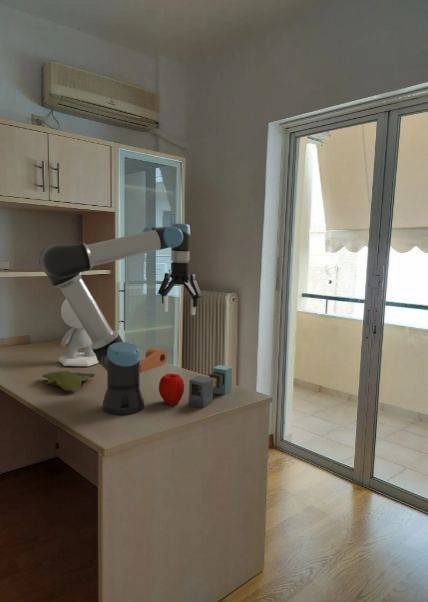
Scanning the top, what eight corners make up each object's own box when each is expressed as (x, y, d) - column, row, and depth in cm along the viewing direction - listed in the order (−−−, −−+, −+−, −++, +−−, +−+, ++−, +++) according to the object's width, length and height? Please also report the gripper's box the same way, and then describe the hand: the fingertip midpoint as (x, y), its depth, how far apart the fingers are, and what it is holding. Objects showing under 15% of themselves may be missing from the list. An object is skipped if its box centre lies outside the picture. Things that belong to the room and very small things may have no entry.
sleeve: (203, 409, 166) (204, 382, 165) (188, 406, 169) (189, 379, 168) (212, 404, 172) (213, 378, 171) (198, 401, 175) (198, 375, 174)
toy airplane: (110, 386, 190) (110, 375, 189) (61, 397, 175) (61, 385, 174) (80, 372, 210) (80, 361, 209) (33, 380, 195) (33, 369, 194)
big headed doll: (92, 354, 244) (92, 290, 240) (107, 364, 225) (107, 295, 221) (55, 358, 233) (54, 291, 229) (67, 368, 214) (66, 296, 210)
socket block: (225, 396, 182) (226, 370, 180) (212, 393, 185) (213, 367, 183) (231, 392, 187) (232, 367, 185) (218, 390, 189) (219, 364, 188)
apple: (152, 403, 171) (153, 372, 169) (172, 397, 178) (172, 368, 177) (170, 410, 164) (170, 378, 163) (189, 404, 171) (190, 373, 170)
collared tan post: (208, 394, 170) (208, 381, 170) (197, 391, 172) (197, 379, 172) (227, 383, 184) (227, 372, 183) (217, 381, 186) (217, 370, 186)
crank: (155, 361, 234) (155, 346, 233) (167, 363, 229) (167, 348, 229) (128, 369, 217) (128, 353, 216) (140, 372, 213) (141, 356, 212)
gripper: (211, 263, 179) (209, 315, 182) (160, 260, 191) (159, 309, 194) (201, 263, 173) (200, 317, 176) (150, 260, 185) (149, 311, 187)
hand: (179, 313), depth 185 cm, fingers open, 13 cm apart
